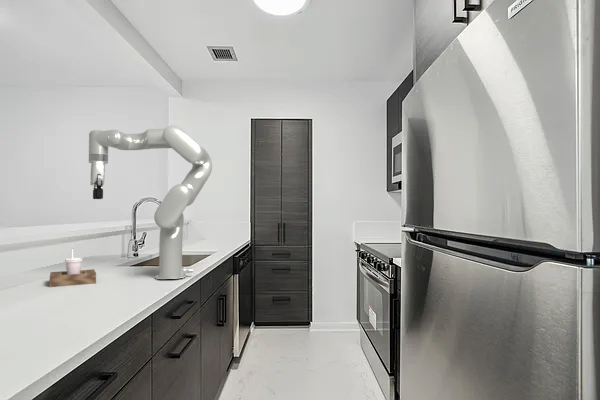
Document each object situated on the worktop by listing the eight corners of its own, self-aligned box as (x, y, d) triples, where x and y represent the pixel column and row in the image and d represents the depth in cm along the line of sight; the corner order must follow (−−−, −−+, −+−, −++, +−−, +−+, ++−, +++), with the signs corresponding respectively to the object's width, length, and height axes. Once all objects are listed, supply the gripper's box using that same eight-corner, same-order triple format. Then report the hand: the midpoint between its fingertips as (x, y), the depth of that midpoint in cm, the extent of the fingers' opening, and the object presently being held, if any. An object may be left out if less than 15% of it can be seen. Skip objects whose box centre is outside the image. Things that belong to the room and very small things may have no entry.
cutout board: (93, 278, 175) (94, 269, 175) (95, 283, 165) (96, 273, 165) (50, 281, 167) (50, 272, 167) (49, 287, 156) (49, 276, 157)
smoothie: (61, 282, 165) (62, 248, 165) (78, 280, 170) (78, 247, 170) (68, 284, 161) (69, 249, 161) (85, 282, 166) (85, 248, 166)
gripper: (87, 160, 182) (87, 199, 181) (89, 156, 167) (89, 198, 167) (106, 161, 186) (105, 199, 185) (109, 158, 171) (109, 198, 170)
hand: (97, 198), depth 176 cm, fingers open, 9 cm apart
